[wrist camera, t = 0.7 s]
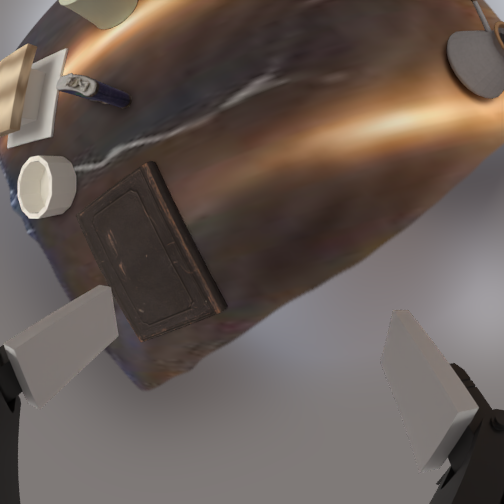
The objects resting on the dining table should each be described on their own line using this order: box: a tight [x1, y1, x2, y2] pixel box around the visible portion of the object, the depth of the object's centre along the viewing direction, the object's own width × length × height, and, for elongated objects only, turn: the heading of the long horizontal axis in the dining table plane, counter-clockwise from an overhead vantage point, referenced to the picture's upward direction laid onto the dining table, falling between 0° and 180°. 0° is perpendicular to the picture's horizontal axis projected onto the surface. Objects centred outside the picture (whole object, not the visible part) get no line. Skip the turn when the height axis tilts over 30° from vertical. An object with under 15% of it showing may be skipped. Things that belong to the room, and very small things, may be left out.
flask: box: [56, 73, 131, 108], centre depth 32 cm, size 9×3×11 cm, turn 66°
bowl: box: [18, 156, 76, 219], centre depth 38 cm, size 10×10×6 cm
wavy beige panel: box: [0, 44, 37, 137], centre depth 30 cm, size 16×12×2 cm
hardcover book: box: [76, 161, 227, 342], centre depth 41 cm, size 16×23×2 cm
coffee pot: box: [447, 0, 504, 99], centre depth 20 cm, size 21×12×15 cm, turn 33°
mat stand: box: [7, 48, 68, 148], centre depth 35 cm, size 18×16×7 cm
